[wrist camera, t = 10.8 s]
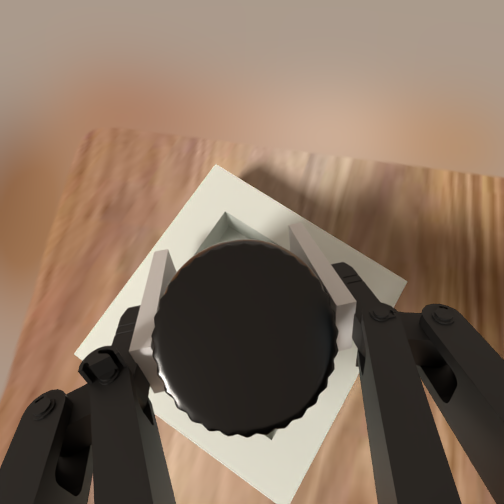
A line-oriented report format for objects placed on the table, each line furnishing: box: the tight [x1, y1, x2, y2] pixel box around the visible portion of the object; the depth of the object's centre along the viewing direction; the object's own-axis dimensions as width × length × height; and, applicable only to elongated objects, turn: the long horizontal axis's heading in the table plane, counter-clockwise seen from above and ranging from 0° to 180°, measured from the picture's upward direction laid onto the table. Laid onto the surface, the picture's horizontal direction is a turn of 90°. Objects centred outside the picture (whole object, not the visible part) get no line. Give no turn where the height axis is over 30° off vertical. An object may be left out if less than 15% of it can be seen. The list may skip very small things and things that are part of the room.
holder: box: [74, 164, 408, 504], centre depth 19 cm, size 15×15×4 cm
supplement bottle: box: [151, 239, 339, 438], centre depth 13 cm, size 7×7×12 cm
